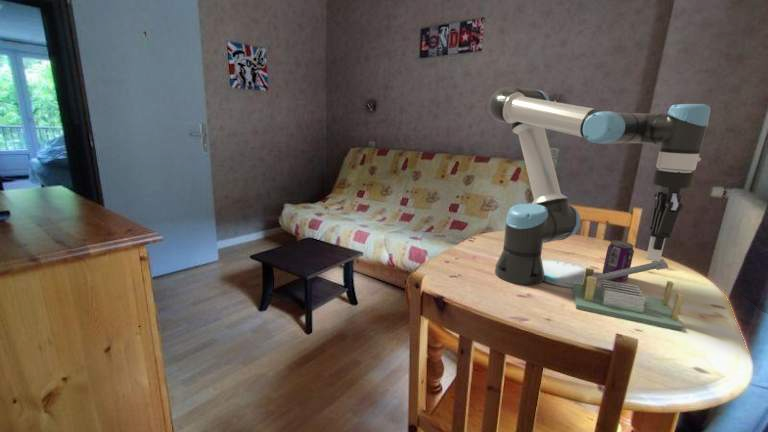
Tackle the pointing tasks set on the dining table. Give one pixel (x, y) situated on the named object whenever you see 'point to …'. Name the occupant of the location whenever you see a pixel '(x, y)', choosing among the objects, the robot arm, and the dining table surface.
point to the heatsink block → (621, 296)
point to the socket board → (651, 314)
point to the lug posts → (590, 287)
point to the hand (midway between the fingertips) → (652, 259)
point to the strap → (632, 270)
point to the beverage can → (618, 258)
